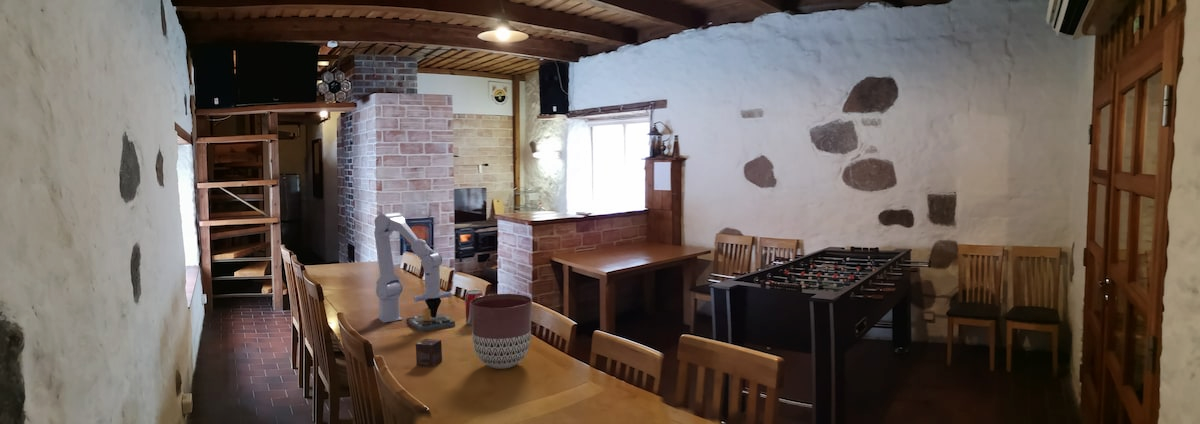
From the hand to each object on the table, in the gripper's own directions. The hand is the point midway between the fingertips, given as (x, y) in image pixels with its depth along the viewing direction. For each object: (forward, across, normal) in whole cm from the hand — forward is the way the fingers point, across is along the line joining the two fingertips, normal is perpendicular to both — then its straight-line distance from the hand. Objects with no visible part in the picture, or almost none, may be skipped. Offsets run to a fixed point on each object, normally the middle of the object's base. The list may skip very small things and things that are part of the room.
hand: (433, 317), depth 251 cm
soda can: (+3, +14, -8) cm, 17 cm away
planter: (+3, +1, -60) cm, 60 cm away
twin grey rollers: (+3, -1, +10) cm, 10 cm away
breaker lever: (+1, -3, 0) cm, 3 cm away
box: (+3, -17, -44) cm, 47 cm away
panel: (+3, -1, 0) cm, 3 cm away
